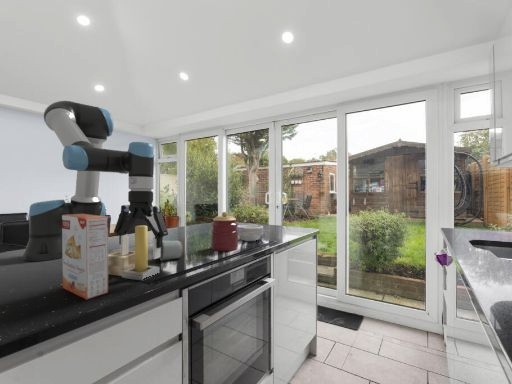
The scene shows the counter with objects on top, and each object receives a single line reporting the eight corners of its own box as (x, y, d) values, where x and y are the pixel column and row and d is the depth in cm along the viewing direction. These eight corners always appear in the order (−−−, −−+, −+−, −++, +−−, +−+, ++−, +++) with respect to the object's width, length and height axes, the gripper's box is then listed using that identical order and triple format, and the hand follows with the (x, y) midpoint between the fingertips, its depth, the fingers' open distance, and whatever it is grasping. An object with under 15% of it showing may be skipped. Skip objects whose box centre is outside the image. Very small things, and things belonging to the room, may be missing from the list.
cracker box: (60, 289, 75) (60, 214, 75) (84, 283, 80) (84, 213, 80) (84, 301, 67) (84, 217, 67) (109, 293, 72) (109, 215, 72)
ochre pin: (132, 276, 86) (132, 226, 86) (140, 273, 90) (140, 225, 90) (141, 277, 85) (142, 227, 85) (150, 274, 89) (150, 225, 89)
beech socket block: (102, 273, 89) (102, 255, 89) (123, 266, 98) (123, 249, 98) (124, 276, 87) (124, 257, 87) (143, 268, 95) (143, 251, 95)
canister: (236, 251, 122) (237, 213, 122) (208, 251, 122) (208, 212, 122) (239, 245, 135) (239, 210, 135) (213, 245, 135) (213, 210, 135)
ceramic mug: (183, 259, 108) (183, 240, 108) (163, 262, 104) (163, 242, 104) (175, 254, 117) (175, 237, 117) (155, 257, 112) (155, 238, 112)
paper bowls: (268, 240, 150) (268, 226, 150) (244, 243, 142) (244, 228, 142) (254, 236, 163) (254, 223, 163) (232, 238, 155) (232, 225, 155)
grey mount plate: (121, 277, 85) (121, 271, 85) (139, 270, 93) (139, 264, 93) (142, 280, 83) (142, 273, 83) (159, 272, 90) (159, 266, 90)
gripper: (102, 189, 88) (101, 255, 88) (165, 190, 80) (164, 262, 80) (120, 189, 95) (119, 250, 95) (179, 190, 88) (179, 256, 88)
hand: (140, 256), depth 88 cm, fingers open, 12 cm apart
